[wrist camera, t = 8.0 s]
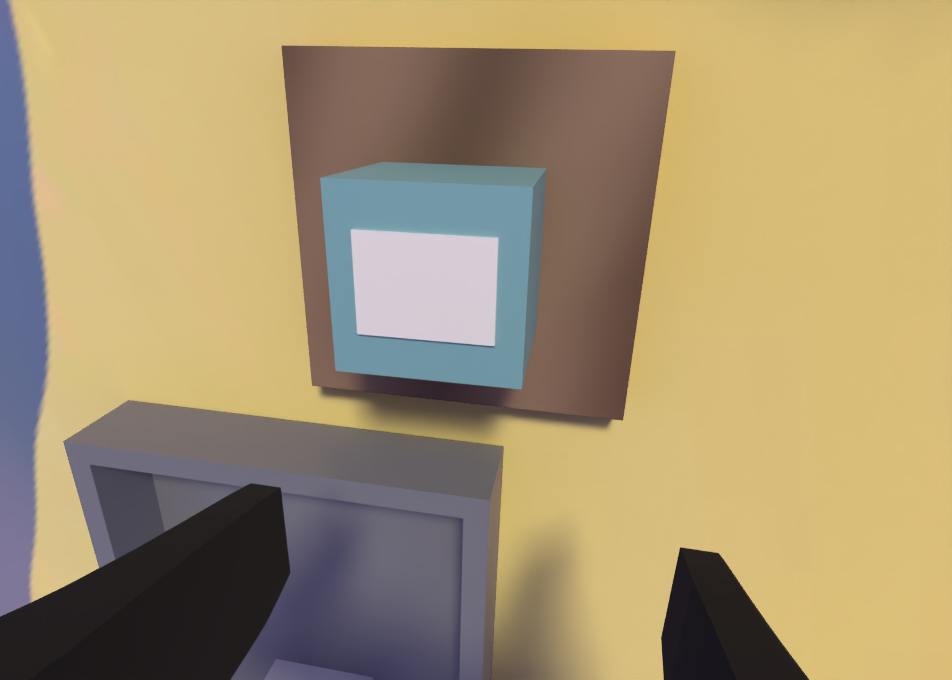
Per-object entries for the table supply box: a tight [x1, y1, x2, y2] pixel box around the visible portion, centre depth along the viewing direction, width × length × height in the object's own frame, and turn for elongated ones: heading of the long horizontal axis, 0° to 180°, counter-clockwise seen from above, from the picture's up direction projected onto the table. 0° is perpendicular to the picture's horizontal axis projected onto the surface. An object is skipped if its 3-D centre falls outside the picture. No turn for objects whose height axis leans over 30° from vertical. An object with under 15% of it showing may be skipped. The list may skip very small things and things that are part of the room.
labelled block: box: [320, 162, 547, 390], centre depth 14 cm, size 4×4×4 cm
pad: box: [282, 46, 675, 420], centre depth 17 cm, size 10×10×1 cm
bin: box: [63, 400, 504, 680], centre depth 23 cm, size 15×20×3 cm
